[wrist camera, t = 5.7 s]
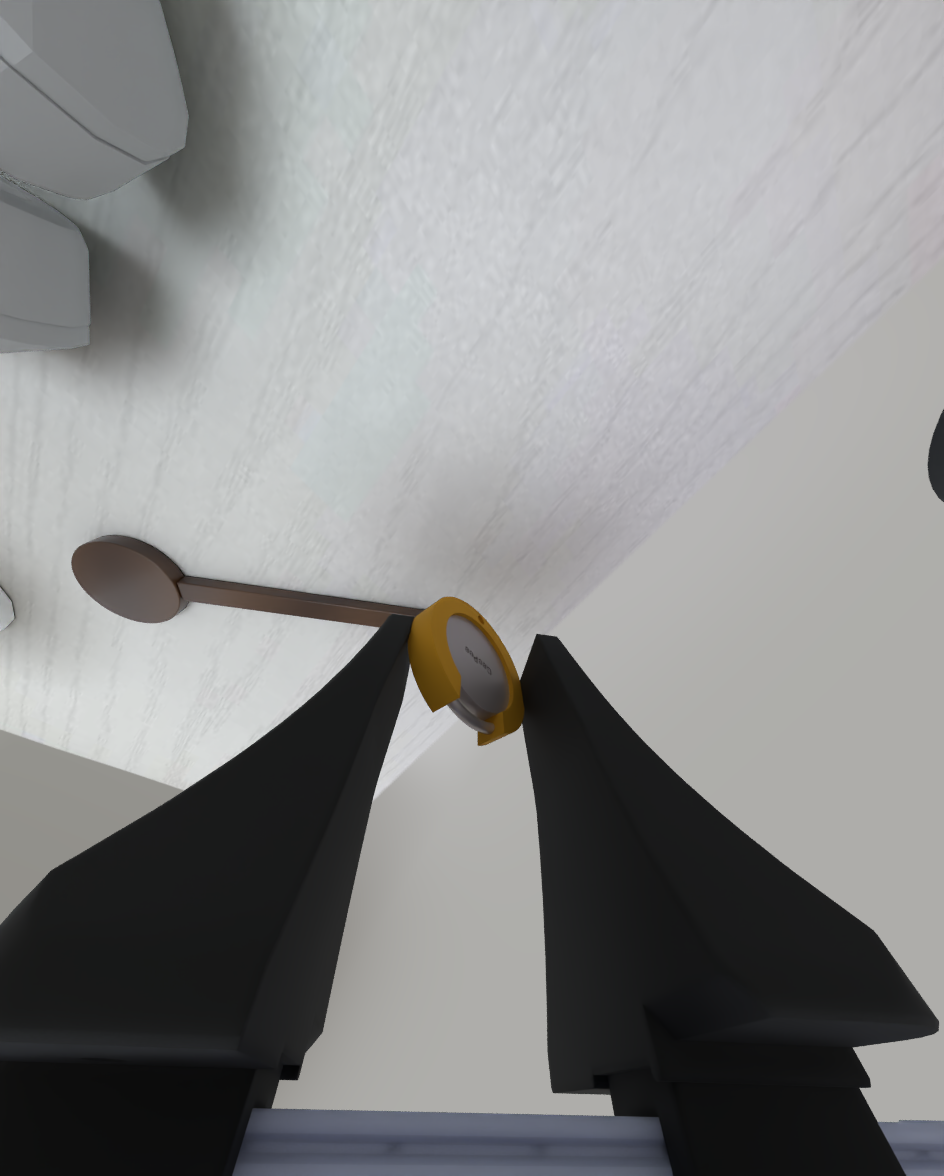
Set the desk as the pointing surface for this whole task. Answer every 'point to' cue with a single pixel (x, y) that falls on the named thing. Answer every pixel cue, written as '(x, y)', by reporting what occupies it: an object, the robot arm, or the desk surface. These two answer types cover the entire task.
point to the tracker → (465, 669)
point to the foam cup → (5, 610)
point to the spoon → (196, 588)
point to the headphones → (74, 145)
